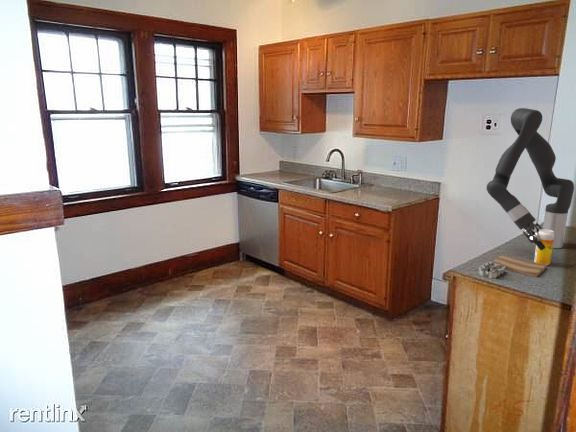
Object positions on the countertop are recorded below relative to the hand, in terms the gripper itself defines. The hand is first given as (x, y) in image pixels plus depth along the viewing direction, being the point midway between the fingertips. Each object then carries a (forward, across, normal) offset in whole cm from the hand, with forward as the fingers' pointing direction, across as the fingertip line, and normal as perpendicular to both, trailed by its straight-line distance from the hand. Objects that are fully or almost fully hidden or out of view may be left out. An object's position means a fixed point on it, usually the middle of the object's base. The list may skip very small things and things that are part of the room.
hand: (546, 246), depth 176 cm
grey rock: (-3, -26, +15) cm, 30 cm away
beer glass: (+5, 0, +6) cm, 8 cm away
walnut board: (+1, -11, +11) cm, 16 cm away
